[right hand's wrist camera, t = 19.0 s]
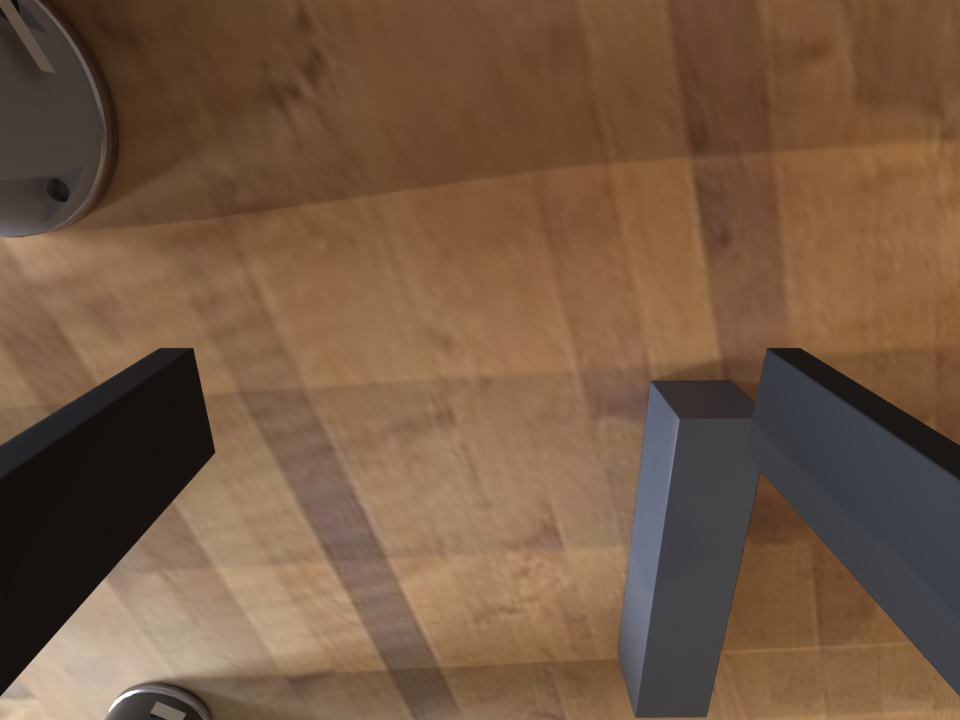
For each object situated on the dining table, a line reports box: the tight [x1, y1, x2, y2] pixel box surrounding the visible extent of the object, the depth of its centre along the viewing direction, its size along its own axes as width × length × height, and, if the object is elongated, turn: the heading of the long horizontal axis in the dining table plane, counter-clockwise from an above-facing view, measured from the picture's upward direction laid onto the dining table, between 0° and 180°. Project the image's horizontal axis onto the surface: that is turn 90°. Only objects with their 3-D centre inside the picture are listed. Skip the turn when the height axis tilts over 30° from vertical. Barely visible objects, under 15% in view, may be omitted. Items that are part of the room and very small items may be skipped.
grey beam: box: [618, 381, 761, 718], centre depth 41 cm, size 6×28×6 cm, turn 0°
